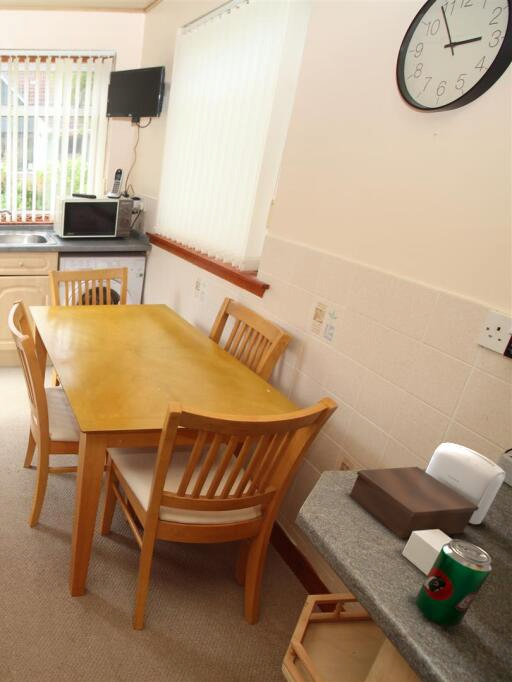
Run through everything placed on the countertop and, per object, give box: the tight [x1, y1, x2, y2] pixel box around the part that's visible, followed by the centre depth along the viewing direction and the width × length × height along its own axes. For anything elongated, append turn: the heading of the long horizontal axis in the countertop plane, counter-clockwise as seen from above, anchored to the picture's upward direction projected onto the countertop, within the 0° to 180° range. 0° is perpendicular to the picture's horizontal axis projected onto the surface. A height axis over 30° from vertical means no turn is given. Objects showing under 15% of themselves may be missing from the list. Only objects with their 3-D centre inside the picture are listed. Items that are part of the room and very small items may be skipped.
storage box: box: [349, 466, 479, 539], centre depth 88 cm, size 13×11×6 cm
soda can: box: [414, 539, 493, 627], centre depth 67 cm, size 5×5×12 cm
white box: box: [401, 529, 453, 576], centre depth 76 cm, size 5×6×5 cm
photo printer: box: [425, 442, 507, 525], centre depth 89 cm, size 10×4×12 cm, turn 14°
